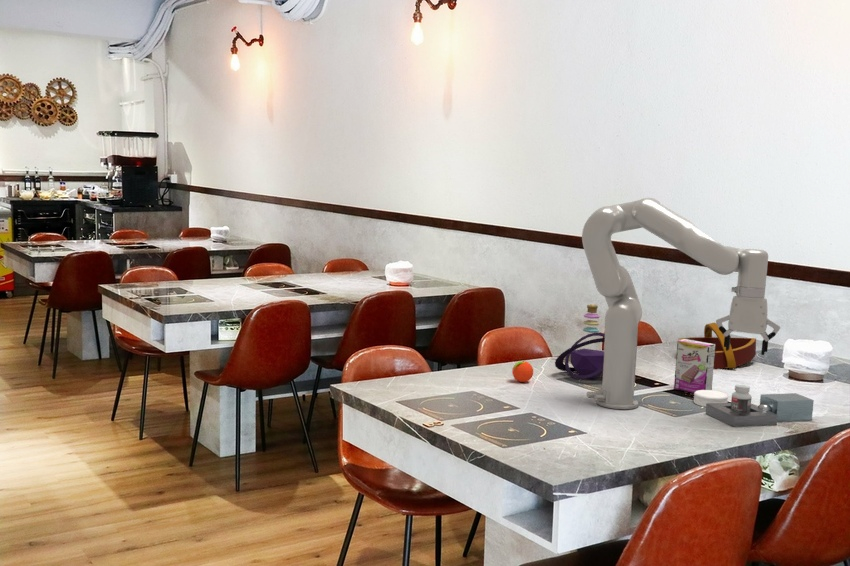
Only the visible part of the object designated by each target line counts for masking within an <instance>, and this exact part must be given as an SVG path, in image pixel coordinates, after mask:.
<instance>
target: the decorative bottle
mask: <svg viewBox="0 0 850 566" xmlns="http://www.w3.org/2000/svg"><path fill="white" fill-rule="evenodd" d="M586 308H587V311H586V312H587V313H584V315H583V317H584V318H587V319H588V320H585V321H583V324H584V325H586V326H587V327H584V328H583V329H582V331H583V332H586V333H588V334H587V335H584V336H582V337H581V338H579V339H577V340H576V341H575V342H574V343H573V344H572V345H571V346H570V347H569V348H567V349H566V350H565V351H563V352H562V353H560V354H559V356H557V358H556V359H555V361H554V367H555V368H556V369H557V370H559V371H563V372H566V373H567V374H568V375H569V376H571V378H574V379H577V380H583V379H584V380H595V379H598V378H599V377H600V376H601V375H603V363H604V350H600V349H598V350H597V349H591V348H582V347H585V346H589V345H592V344H596V343H597V344H598V343H605V332H599V331H600V330H599V329H598V328H597V327H594V326H599V325H600V323H599V322H598V321H597V320H594V319H599V318H601V316H600V315H599V314H598V313H597V312H598V305H597V304H592V303H589V304H587V305H586ZM589 319H591V320H589ZM592 319H593V320H592ZM589 326H591V327H589ZM596 336H597V337H599V338H593V339H590V340H586V339H588V338H592V337H596ZM584 340H585V341H584ZM569 360H570V364H571V366H570V365H569ZM575 372H576V373H577V374H576V373H575Z"/></svg>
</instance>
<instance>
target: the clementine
mask: <svg viewBox="0 0 850 566" xmlns="http://www.w3.org/2000/svg"><path fill="white" fill-rule="evenodd" d="M511 372H512V377H513V378H514V379H515V380H516V381H517V382H520V383H526V382H528V381H530V380H531V379H532V378H533V375H534V368H533V366H532V365H531V363H529V361H525V360H521V361H517V362H516V363H515V364H514V365H513V368H512V371H511Z"/></svg>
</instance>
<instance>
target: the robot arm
mask: <svg viewBox="0 0 850 566" xmlns="http://www.w3.org/2000/svg"><path fill="white" fill-rule="evenodd" d="M636 229H644V230H646V231H647V232H649V233H651V234H652V235H654V236H656V237H658V238H660V239H661V240H662V241H664V242H665V243H667V244H668V245H671V246H672V247H674V248H676V249H677V250H678V251H680V252H682V253H684V254H685V255H686V256H688V257H690V258H691V259H693V260H695V261H696V262H697V263H700V264H701V265H702V266H705V267H706V268H707V269H710V270H711V271H713V272H714V273H716V274H719V275H721V276H722V275H723V276H727V275H730V274H733V273H734V272H737V274H738V276H737V283H736V286H733V287H731V292H732V293H735V295H733V297H732V300H731V304H730V309H729V315H726V316H723V317H721V318H717V319H716V320H715V323H716V324H717V326H718V328H719V330H720V331H721V332H722V334H723V335H724V336H725V338H724V347H726V351H728V350H729V348H730V338H732V336H731V333H733V332H735V333H743V334H744V333H745V334H752V335H760V336H761V337H762V339H763V340H762V341H761V352H760V355H762V356H765V353H768V351H769V350H768V349H769V348H768V347H769V341H771V340H772V339H773V338H774V337H775V336H776V335H777V334H778V332H779V331H780V329H781V326H780V325H779V324H778V323H776V322H773V321H772V320H770V319H769V318H768V300H767V298H766V297H765V295H766V286H767V285H766V284H767V275H768V263H769V254H768V252H767V251H766V250H763V249H756V248H755V249H754V248H737V247H732V246H726V245H723V244H722V243H720V242H718V241H716V240H714V239H713V238H711V237H710V236H708V235H707V234H705V233H704V232H702V230H700V229H699V228H698V227H697V225H695V224H694V223H693V222H691V221H690V220H689V219H687V218H685V217H683V216H682V215H680V214H678V213H677V212H674V211H673V210H671V209H670V208H668V207H667V206H664V204H661V202H660V201H658V200H657V199H656V198H652V197H645V198H641V199H637V200H634V201H633V200H632V201H628V202H622V203H618V204H612V205H606V206H601V207H599V208H598V209H596V210H595V211H594V212H593V213H592V214H590V216H589V217H588V219H587V220H586V221H585V223H584V226H583V228H582V234H581V241H582V246H583V249H584V253H585V256H586V259H587V263H588V266H589V269H590V272H591V274H592V278H593V280H594V285H595V288H596V289H597V291H598V293H599V294H600V296H603V297H604V298H605V302H606V303H607V307H608V308H607V310H606V313H605V316H604V317H605V318H604V334H605V342H604V346H603V351H604V363H603V373H602V381H601V387H598V390H596V391H587V392H586V398H587V399H594V400H595V403H596V404H597V405H598V406H601V407H603V408H608V409H613V410H614V409H616V410H633V409H636V408H639V401H638V400H637V399H634V398H635V397H634V396H635V385H636V371H637V370H636V367H637V353H638V350H637V349H638V328H639V327H638V326H639V322H640V321H641V319H642V316H643V308H642V305H641V303H640V299H639V297H638V294H637V291H636V289H635V286H634V282H633V280H632V277H631V275H630V273H629V271H628V270H627V269H626V268H625V267H624V266H623V265H621V264H620V262H619V260H618V256H617V253H616V250H615V247H614V245H613V242H612V236H613V235H614V234H618V233H621V232H626V231H632V230H636ZM727 321H728V324H727V327H728V328H727V329H726V328H725V326H723V323H725V322H727ZM768 326H769V327H771V328H772V329H773V330H772V331H771V332H770V333H769V334H768V333H767V327H768Z"/></svg>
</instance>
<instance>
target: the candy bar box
mask: <svg viewBox="0 0 850 566" xmlns="http://www.w3.org/2000/svg"><path fill="white" fill-rule="evenodd" d="M675 356H676V357H675V372H674V382H673V389H674V390H678V391H682V392H688V393H692V394H694V393H695V392H696V391H698V390H713V382H714V381H713V378H714V369H713V368H714V356H715V344H711V343H705V342H699V341H694V340H688V339H681V340H677V344H676V355H675Z"/></svg>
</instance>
